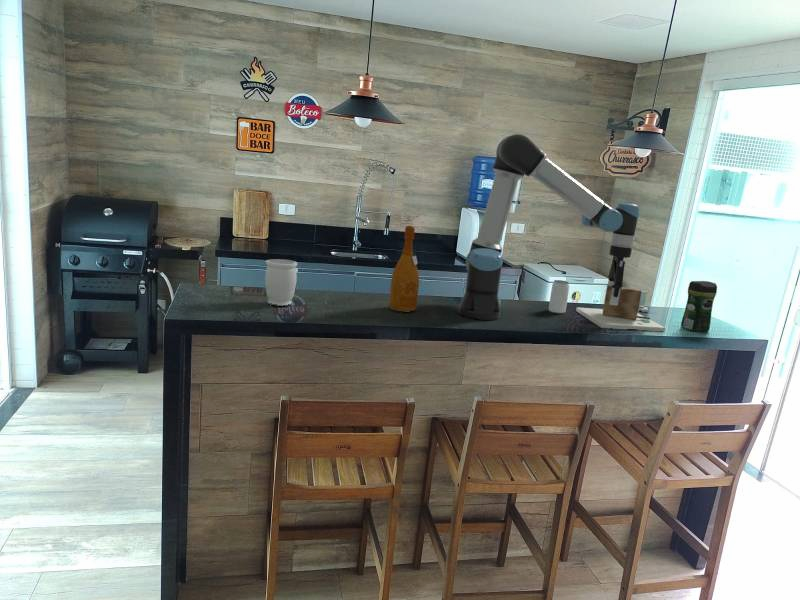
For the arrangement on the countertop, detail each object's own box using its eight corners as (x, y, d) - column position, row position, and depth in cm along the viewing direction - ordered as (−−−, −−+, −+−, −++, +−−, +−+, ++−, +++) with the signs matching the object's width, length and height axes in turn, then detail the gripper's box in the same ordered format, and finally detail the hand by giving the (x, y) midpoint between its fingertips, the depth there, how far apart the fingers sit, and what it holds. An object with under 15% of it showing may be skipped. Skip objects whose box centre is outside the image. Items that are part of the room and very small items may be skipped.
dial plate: (601, 327, 212) (602, 323, 212) (576, 311, 235) (576, 306, 235) (664, 331, 215) (665, 327, 214) (633, 314, 238) (634, 310, 238)
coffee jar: (695, 326, 228) (705, 279, 223) (712, 332, 220) (723, 283, 216) (676, 326, 224) (685, 278, 220) (692, 332, 217) (702, 283, 213)
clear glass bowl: (636, 315, 240) (639, 297, 239) (618, 307, 252) (621, 290, 250) (661, 315, 244) (664, 297, 242) (642, 308, 255) (645, 291, 253)
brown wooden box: (602, 314, 225) (607, 286, 222) (602, 313, 228) (607, 285, 225) (649, 321, 221) (655, 292, 218) (648, 319, 224) (654, 291, 221)
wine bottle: (397, 314, 206) (404, 227, 199) (384, 307, 214) (391, 224, 207) (421, 312, 211) (429, 228, 204) (407, 306, 219) (415, 224, 212)
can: (563, 310, 234) (568, 280, 232) (566, 314, 228) (571, 284, 226) (547, 308, 235) (551, 279, 232) (549, 312, 229) (554, 282, 226)
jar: (263, 307, 199) (265, 263, 195) (264, 300, 209) (265, 258, 205) (295, 308, 201) (298, 265, 198) (294, 301, 211) (297, 259, 207)
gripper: (637, 251, 207) (626, 309, 212) (627, 243, 231) (617, 296, 235) (615, 248, 208) (604, 306, 213) (607, 240, 232) (597, 293, 237)
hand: (611, 301), depth 224 cm, fingers open, 13 cm apart
